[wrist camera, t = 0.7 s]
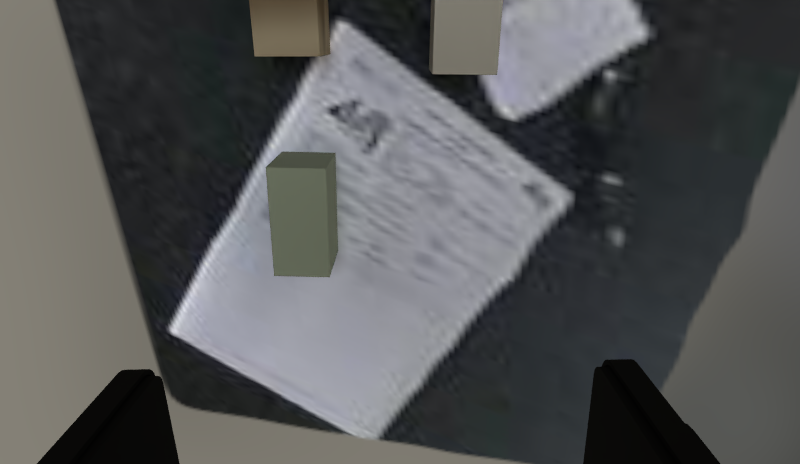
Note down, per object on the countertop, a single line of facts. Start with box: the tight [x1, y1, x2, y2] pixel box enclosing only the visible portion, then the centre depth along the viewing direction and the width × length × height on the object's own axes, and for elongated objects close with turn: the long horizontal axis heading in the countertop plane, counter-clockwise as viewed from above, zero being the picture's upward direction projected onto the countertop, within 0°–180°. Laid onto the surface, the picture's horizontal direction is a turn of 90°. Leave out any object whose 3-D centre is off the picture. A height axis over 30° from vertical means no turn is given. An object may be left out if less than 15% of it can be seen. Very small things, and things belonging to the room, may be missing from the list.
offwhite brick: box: [429, 0, 503, 75], centre depth 32 cm, size 8×4×5 cm, turn 179°
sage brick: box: [266, 152, 338, 277], centre depth 37 cm, size 8×4×5 cm, turn 179°
